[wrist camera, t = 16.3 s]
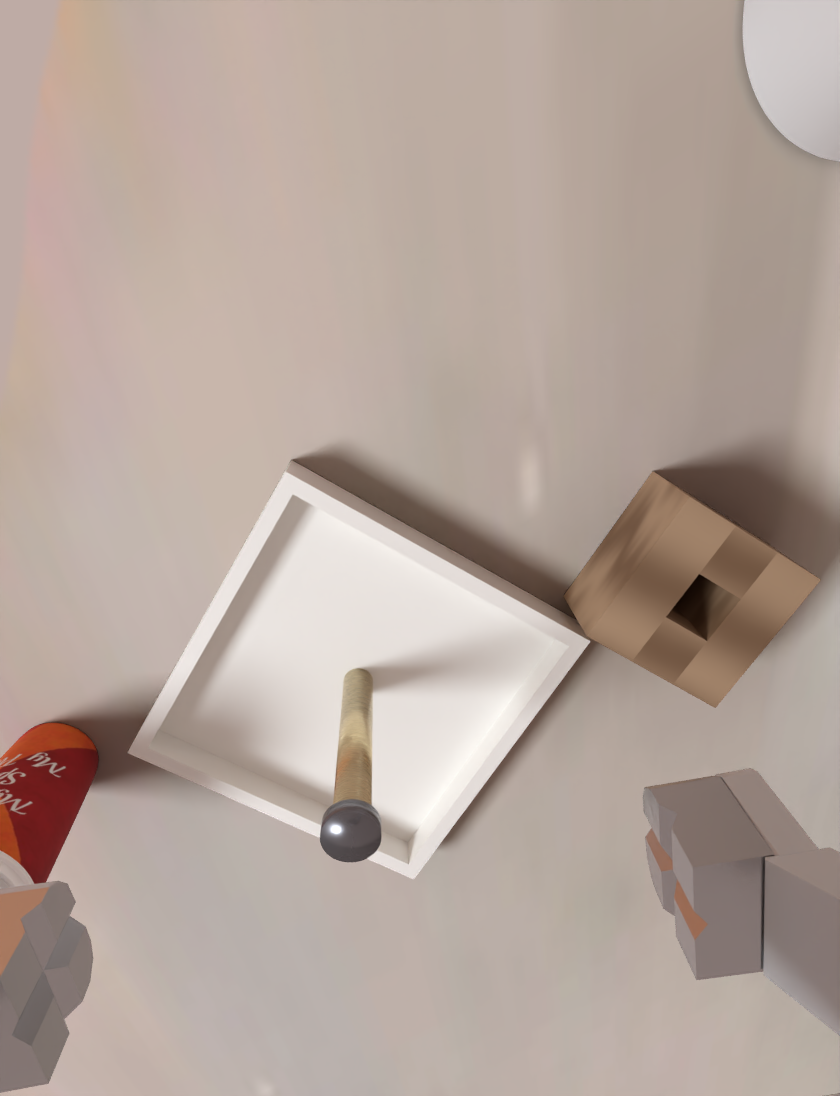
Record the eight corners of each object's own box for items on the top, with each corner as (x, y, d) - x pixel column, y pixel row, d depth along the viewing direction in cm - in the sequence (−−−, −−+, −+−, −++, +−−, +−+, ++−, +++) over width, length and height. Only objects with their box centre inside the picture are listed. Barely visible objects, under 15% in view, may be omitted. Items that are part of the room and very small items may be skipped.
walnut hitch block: (652, 471, 47) (690, 496, 42) (770, 545, 50) (820, 579, 44) (563, 596, 50) (586, 636, 44) (678, 661, 52) (715, 708, 47)
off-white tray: (291, 459, 46) (285, 471, 43) (578, 621, 51) (590, 641, 48) (140, 727, 52) (127, 753, 49) (411, 849, 57) (413, 879, 54)
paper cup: (74, 691, 51) (-32, 835, 37) (135, 776, 53) (57, 939, 40) (-24, 736, 51) (-162, 893, 38) (41, 817, 54) (-67, 991, 41)
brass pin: (349, 654, 50) (339, 803, 36) (388, 674, 50) (392, 828, 36) (328, 688, 51) (309, 847, 37) (366, 707, 51) (362, 870, 37)
